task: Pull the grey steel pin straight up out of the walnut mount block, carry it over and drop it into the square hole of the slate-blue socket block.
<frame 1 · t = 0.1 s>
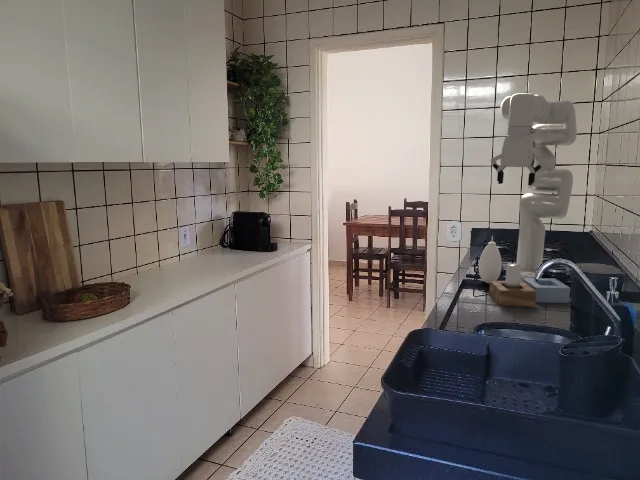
hand: (515, 184, 157), 37 cm above the countertop, tool pointing down, fingers open, 9 cm apart
mechanical component: (529, 286, 170), on the countertop
walnut mount: (510, 300, 153), on the countertop
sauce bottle: (488, 283, 173), on the countertop
steel pin: (512, 282, 152), in the walnut mount
socket block: (544, 297, 157), on the countertop
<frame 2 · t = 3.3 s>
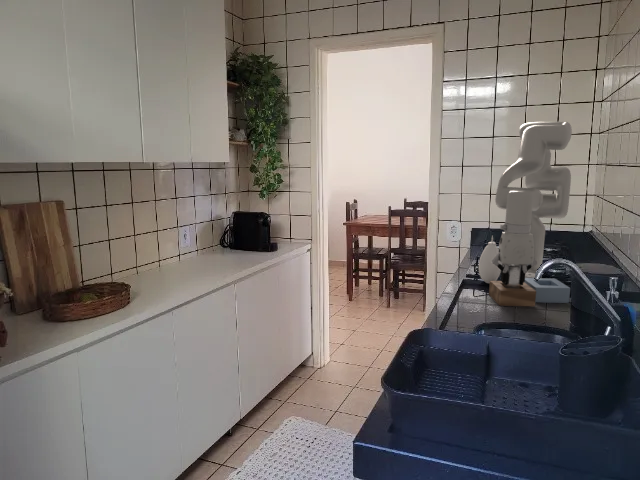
hand: (512, 283, 152), 6 cm above the countertop, tool pointing down, fingers closed on steel pin, 4 cm apart
steel pin: (512, 282, 152), in the walnut mount, touching gripper
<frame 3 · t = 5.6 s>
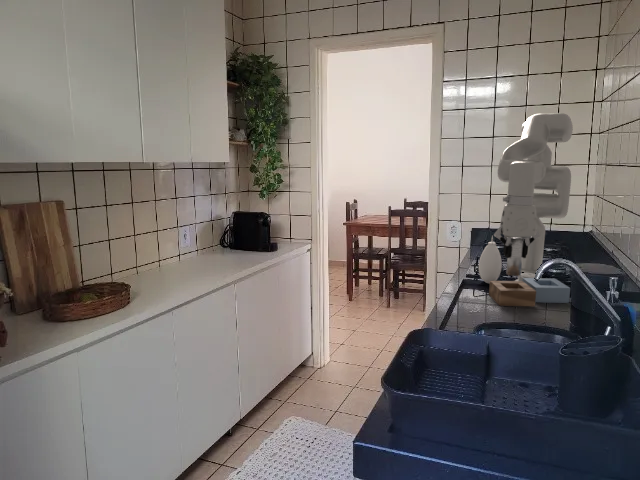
hand: (515, 256, 151), 15 cm above the countertop, tool pointing down, fingers closed on steel pin, 4 cm apart
steel pin: (515, 256, 151), point 15 cm above the countertop, touching gripper
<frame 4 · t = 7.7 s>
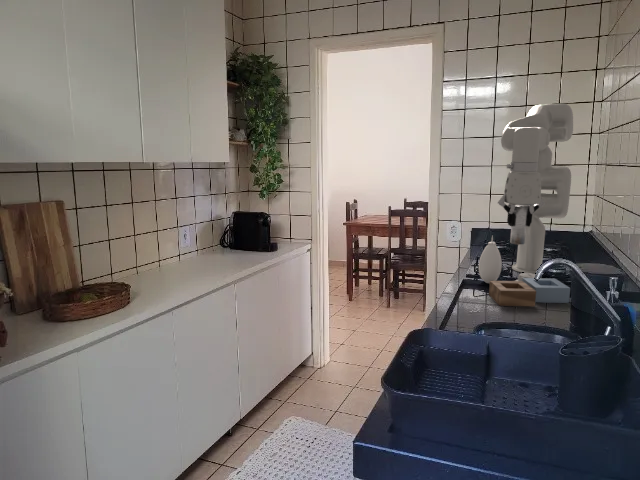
hand: (519, 225, 148), 25 cm above the countertop, tool pointing down, fingers closed on steel pin, 4 cm apart
steel pin: (519, 224, 148), point 25 cm above the countertop, touching gripper
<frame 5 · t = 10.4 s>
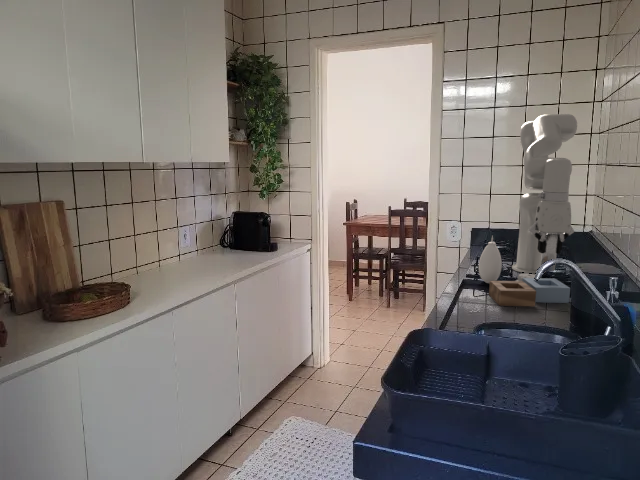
hand: (549, 252, 153), 16 cm above the countertop, tool pointing down, fingers closed on steel pin, 4 cm apart
steel pin: (549, 251, 153), point 16 cm above the countertop, touching gripper
when the fingers open (7 cm above the countertop, at t = 12.3 s): steel pin drops 1 cm, resting in socket block.
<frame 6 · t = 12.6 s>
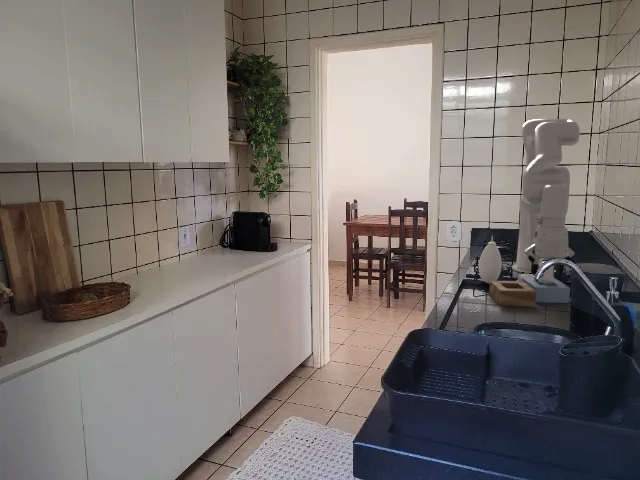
hand: (546, 274, 155), 8 cm above the countertop, tool pointing down, fingers open, 7 cm apart
steel pin: (546, 280, 156), in the socket block
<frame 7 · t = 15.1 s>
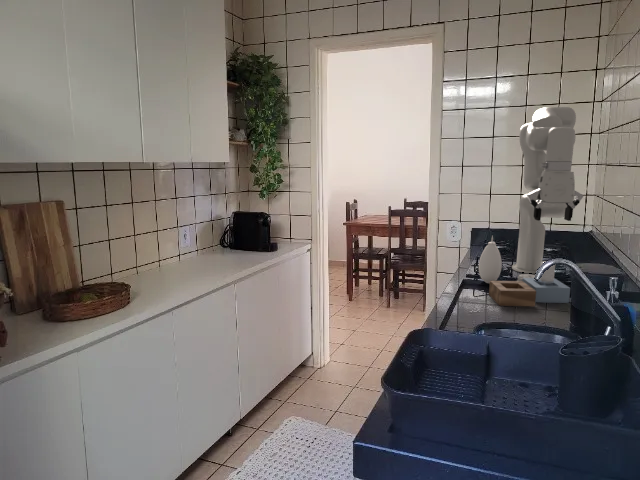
hand: (552, 220, 152), 26 cm above the countertop, tool pointing down, fingers open, 9 cm apart
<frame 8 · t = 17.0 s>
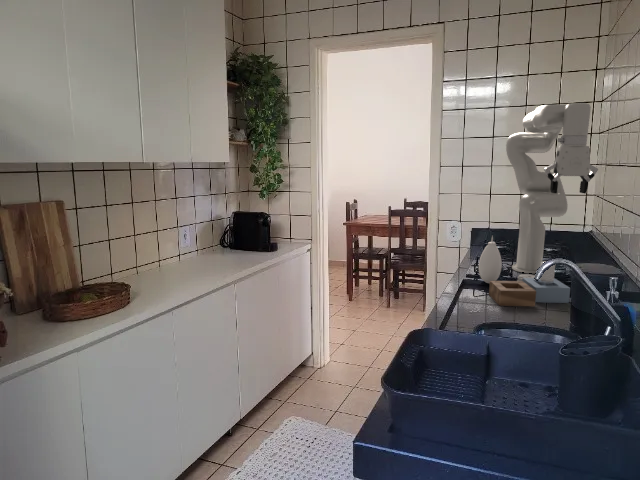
hand: (568, 193, 158), 34 cm above the countertop, tool pointing down, fingers open, 9 cm apart
at the end: steel pin 0.1 cm off-centre on the socket block, point 6.0 cm above the socket block's base; steel pin tilted 0°; the gripper is holding nothing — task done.
